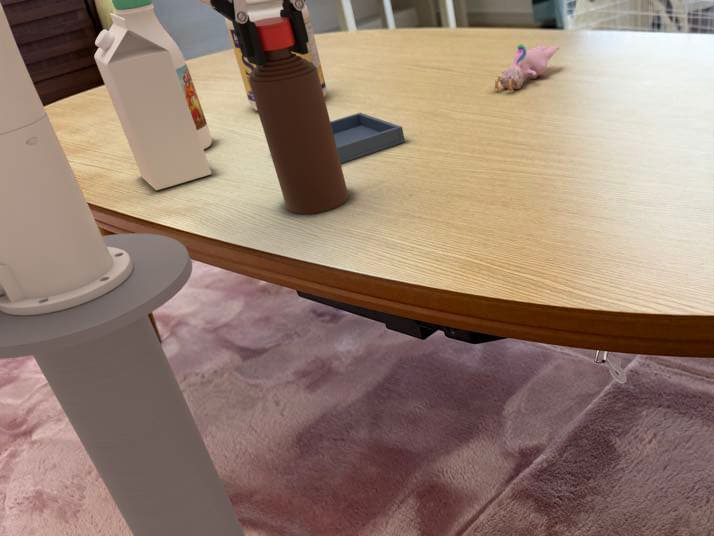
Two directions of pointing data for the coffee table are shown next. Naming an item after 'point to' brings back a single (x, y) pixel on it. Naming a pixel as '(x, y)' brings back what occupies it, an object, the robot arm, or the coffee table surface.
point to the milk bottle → (141, 19)
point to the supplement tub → (268, 4)
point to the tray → (364, 135)
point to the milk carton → (150, 106)
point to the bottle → (298, 132)
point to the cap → (275, 33)
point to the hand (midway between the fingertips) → (278, 56)
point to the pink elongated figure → (526, 66)
